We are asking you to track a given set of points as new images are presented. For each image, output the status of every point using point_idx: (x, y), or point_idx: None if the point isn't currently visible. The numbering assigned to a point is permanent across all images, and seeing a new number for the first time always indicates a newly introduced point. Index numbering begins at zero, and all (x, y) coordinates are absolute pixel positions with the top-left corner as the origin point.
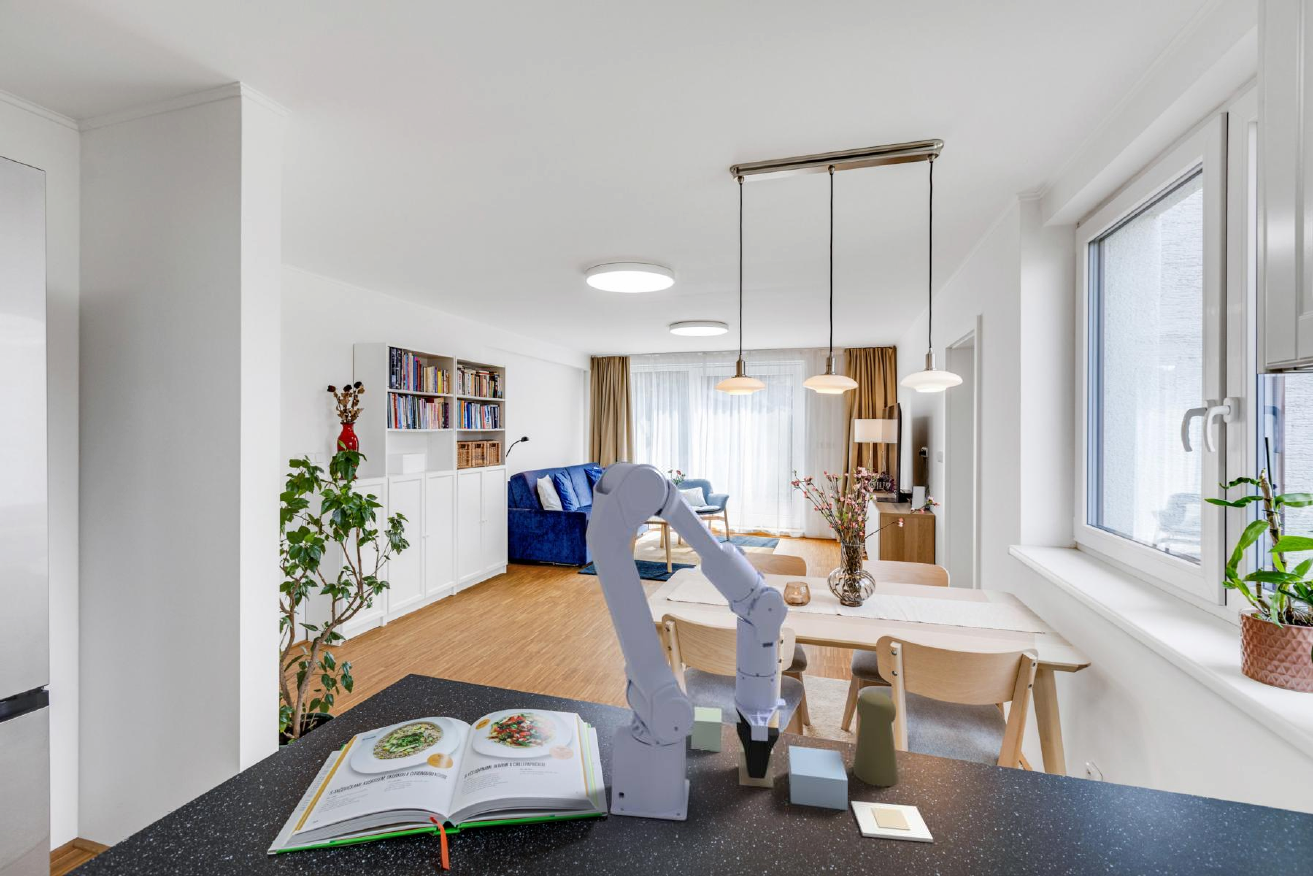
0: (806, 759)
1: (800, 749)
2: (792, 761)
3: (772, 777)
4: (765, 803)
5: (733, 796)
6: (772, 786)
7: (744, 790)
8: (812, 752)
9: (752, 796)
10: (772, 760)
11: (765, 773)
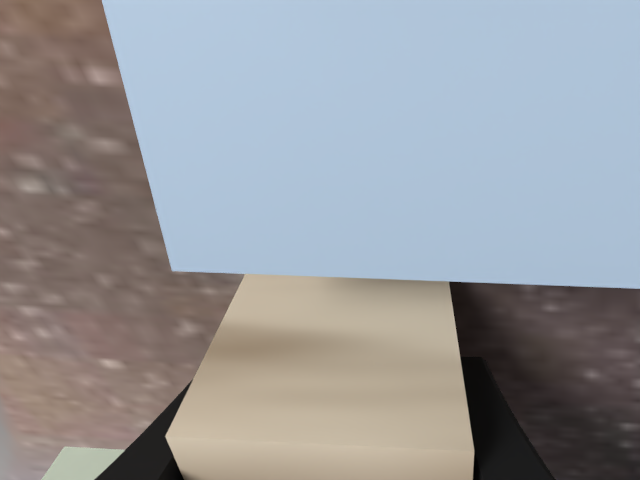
0: (409, 106)
1: (198, 163)
2: (484, 264)
3: (451, 308)
4: (617, 311)
5: (550, 434)
6: None
7: None
8: (208, 13)
9: (547, 364)
10: (467, 406)
11: (490, 378)
